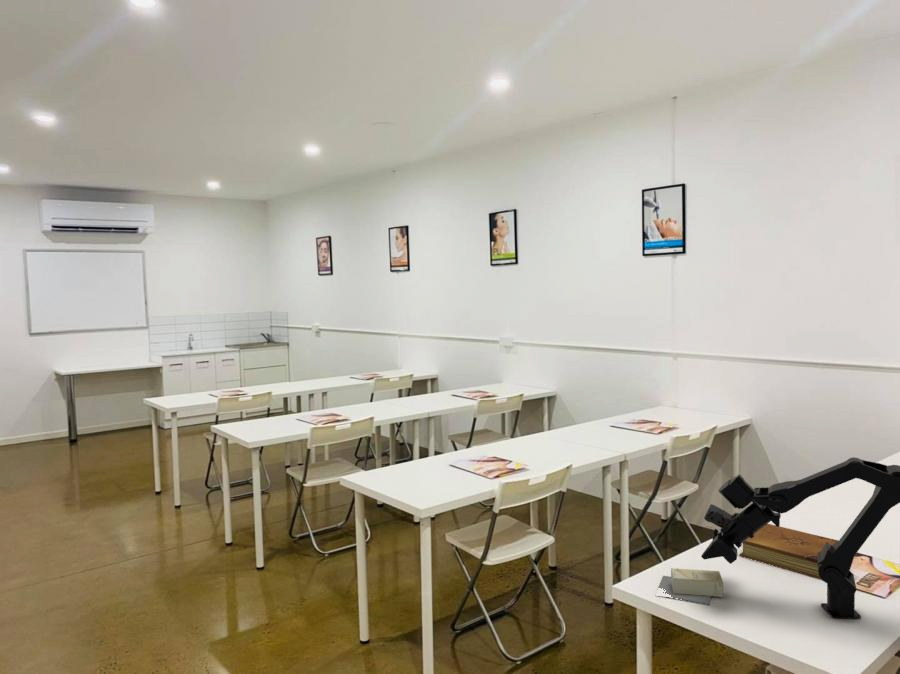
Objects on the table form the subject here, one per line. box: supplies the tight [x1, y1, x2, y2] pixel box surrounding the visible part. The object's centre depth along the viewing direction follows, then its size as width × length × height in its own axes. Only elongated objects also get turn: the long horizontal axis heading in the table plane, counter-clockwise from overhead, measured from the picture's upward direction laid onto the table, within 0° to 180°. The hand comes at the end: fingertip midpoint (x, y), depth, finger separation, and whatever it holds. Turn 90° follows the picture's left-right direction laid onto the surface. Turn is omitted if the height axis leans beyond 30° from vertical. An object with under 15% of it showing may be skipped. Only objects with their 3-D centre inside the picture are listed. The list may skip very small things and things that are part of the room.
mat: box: [657, 575, 712, 606], centre depth 172 cm, size 13×12×1 cm
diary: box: [739, 523, 839, 580], centre depth 189 cm, size 23×19×6 cm
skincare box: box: [670, 568, 724, 598], centre depth 171 cm, size 6×4×12 cm
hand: (702, 557), depth 171 cm, fingers closed
